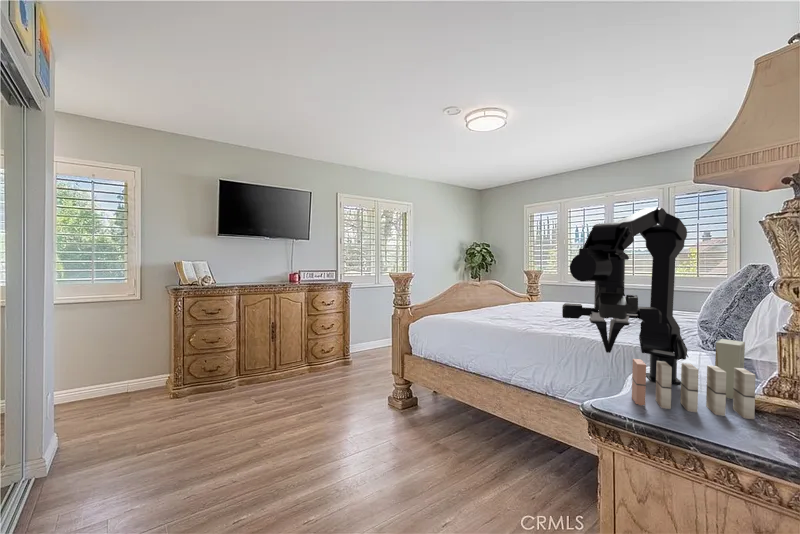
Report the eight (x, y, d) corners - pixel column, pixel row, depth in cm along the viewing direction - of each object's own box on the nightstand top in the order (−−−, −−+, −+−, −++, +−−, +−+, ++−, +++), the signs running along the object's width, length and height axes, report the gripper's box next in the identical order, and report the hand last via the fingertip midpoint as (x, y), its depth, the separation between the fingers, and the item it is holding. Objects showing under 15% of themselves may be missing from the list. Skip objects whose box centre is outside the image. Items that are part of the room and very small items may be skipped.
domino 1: (631, 397, 88) (632, 358, 88) (640, 398, 87) (641, 359, 87) (636, 404, 83) (637, 364, 83) (645, 405, 83) (646, 364, 82)
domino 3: (732, 409, 81) (733, 367, 81) (742, 410, 81) (743, 368, 81) (743, 418, 77) (744, 373, 77) (754, 419, 76) (755, 374, 76)
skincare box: (719, 390, 94) (720, 338, 94) (744, 395, 91) (745, 341, 90) (713, 395, 90) (714, 341, 90) (739, 401, 86) (740, 344, 86)
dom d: (706, 406, 83) (707, 365, 83) (715, 407, 82) (716, 366, 82) (715, 414, 78) (716, 371, 78) (725, 415, 78) (726, 372, 78)
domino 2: (680, 403, 85) (681, 362, 85) (689, 404, 84) (690, 363, 84) (687, 411, 80) (688, 368, 80) (697, 412, 79) (698, 369, 79)
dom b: (655, 400, 86) (656, 360, 86) (664, 401, 86) (665, 361, 86) (661, 407, 82) (662, 366, 81) (670, 409, 81) (671, 367, 81)
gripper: (563, 281, 83) (562, 356, 83) (669, 283, 76) (668, 365, 76) (562, 279, 93) (561, 345, 94) (656, 281, 87) (654, 353, 87)
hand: (608, 352), depth 87 cm, fingers closed
